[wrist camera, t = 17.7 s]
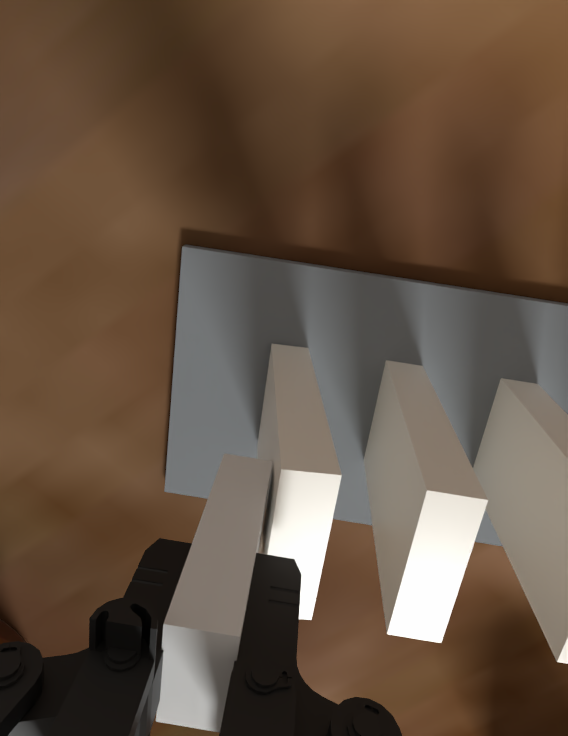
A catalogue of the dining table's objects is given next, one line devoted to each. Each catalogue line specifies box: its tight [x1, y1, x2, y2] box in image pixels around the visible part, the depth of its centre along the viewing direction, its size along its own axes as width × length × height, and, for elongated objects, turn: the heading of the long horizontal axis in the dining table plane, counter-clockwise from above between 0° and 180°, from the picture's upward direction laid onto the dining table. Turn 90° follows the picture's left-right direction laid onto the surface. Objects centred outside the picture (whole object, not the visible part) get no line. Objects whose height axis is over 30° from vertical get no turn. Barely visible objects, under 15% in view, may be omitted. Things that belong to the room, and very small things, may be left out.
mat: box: [165, 245, 568, 546], centre depth 24 cm, size 34×12×1 cm, turn 82°
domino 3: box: [473, 378, 568, 664], centre depth 20 cm, size 2×5×10 cm, turn 172°
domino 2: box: [364, 360, 488, 643], centre depth 20 cm, size 2×5×10 cm, turn 172°
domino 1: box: [257, 344, 342, 620], centre depth 20 cm, size 2×5×10 cm, turn 172°
